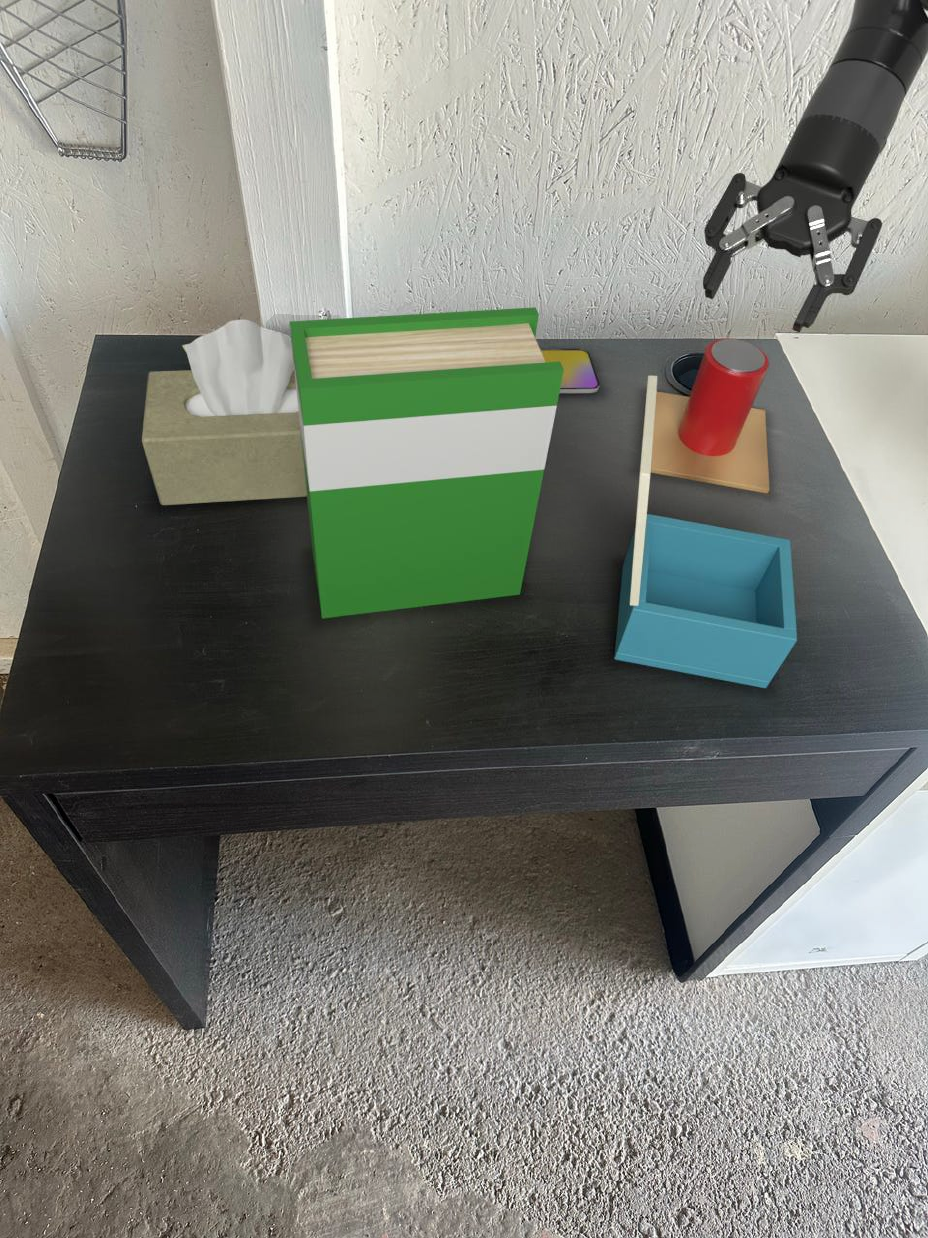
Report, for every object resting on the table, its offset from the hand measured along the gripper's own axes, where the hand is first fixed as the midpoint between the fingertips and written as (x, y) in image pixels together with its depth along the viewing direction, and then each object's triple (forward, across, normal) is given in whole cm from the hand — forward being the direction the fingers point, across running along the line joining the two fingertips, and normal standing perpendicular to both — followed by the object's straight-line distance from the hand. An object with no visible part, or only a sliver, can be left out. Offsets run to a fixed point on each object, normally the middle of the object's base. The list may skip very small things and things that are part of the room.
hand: (752, 312), depth 78 cm
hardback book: (+34, -15, -11) cm, 39 cm away
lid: (+20, +1, -16) cm, 26 cm away
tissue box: (+32, -36, -9) cm, 49 cm away
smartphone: (+12, -21, +12) cm, 26 cm away
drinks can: (+10, 0, +12) cm, 16 cm away
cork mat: (+10, 0, +12) cm, 16 cm away
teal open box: (+28, +8, -5) cm, 29 cm away
